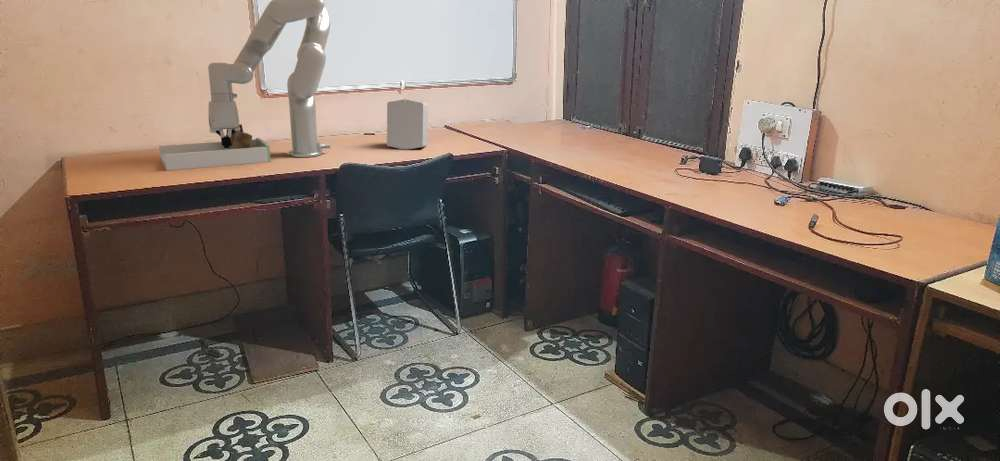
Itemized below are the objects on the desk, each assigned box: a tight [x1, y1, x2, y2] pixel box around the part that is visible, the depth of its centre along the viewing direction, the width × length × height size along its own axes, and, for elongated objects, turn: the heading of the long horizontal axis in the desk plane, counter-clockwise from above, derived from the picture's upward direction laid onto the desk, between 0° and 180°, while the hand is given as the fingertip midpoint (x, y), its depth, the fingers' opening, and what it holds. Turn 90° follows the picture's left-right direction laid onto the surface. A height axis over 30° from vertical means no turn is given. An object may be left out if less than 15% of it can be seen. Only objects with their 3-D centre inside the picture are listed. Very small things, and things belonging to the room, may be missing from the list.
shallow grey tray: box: [158, 137, 271, 171], centre depth 262 cm, size 35×18×6 cm, turn 120°
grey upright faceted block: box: [386, 98, 429, 150], centre depth 296 cm, size 15×15×20 cm
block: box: [229, 131, 253, 149], centre depth 269 cm, size 6×6×6 cm
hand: (226, 147), depth 267 cm, fingers closed
